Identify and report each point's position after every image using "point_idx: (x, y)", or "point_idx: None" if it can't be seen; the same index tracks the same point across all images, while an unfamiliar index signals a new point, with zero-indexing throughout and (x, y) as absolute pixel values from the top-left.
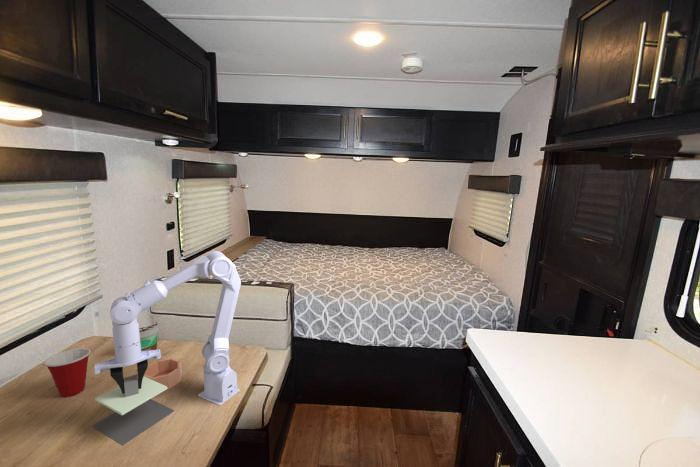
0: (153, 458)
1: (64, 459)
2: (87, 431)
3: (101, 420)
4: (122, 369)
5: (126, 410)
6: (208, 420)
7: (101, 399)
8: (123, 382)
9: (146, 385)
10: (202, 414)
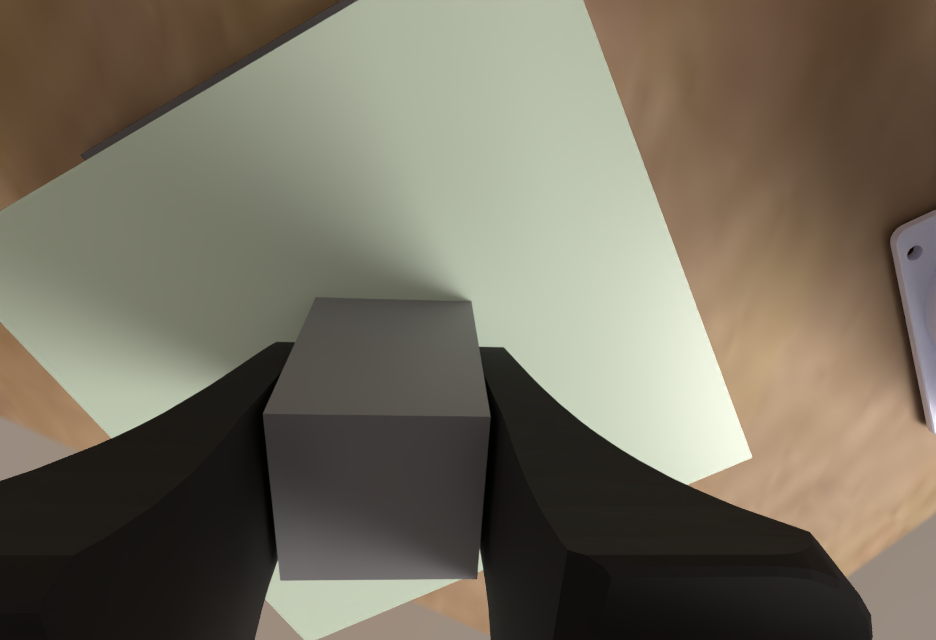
0: (481, 616)
1: (16, 410)
2: None
3: (148, 120)
4: (171, 588)
5: (344, 626)
6: (802, 509)
7: (41, 329)
8: (267, 527)
9: (564, 303)
10: (803, 443)
